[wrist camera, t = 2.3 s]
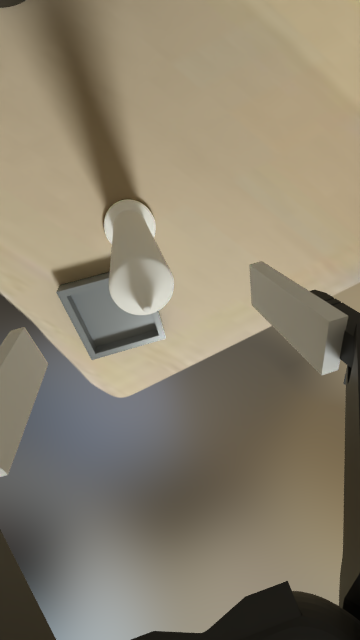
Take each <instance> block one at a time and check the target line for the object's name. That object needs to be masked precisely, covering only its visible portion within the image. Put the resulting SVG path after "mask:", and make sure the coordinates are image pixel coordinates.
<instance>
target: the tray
mask: <svg viewBox="0 0 360 640" xmlns="http://www.w3.org/2000/svg"><path fill="white" fill-rule="evenodd" d="M109 274H110V272H108V273H104V274H100V275H97V276H93V277H89V278H85V279H82V280H78V281H74V282H70V283H67V284H63V285H60V286H59V288H58V290H57V294H58V296H59V298H60V300H61V302H62V304H63V306H64V308H65V310H66V312H67V314H68V315H69V317H70V319H71V321H72V323H73V325H74V327H75V329H76V331H77V333H78V335H79V337H80V338H81V340H82V342H83V344H84V346H85V348H86V350H87V352H88V354H89V356H90V358H91V360H94V359H97V358H101V357H104V356H107V355H111V354H114V353H118V352H121V351H125V350H128V349H132V348H135V347H138V346H142V345H145V344H149V343H152V342H156V341H159V340H162V339H166V336H165V333H164V329H163V326H162V322H161V319H160V315H159V312H158V311H157V312H155V313H152V314H148V315H134V314H130V313H128V312H126V311H124V310H122V309H121V308H120V307H118V306H117V304H116V303H115V302H114V301H113V299H112V297H111V295H110V291H109Z"/></svg>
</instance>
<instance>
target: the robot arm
mask: <svg viewBox="0 0 360 640" xmlns="http://www.w3.org/2000/svg"><path fill="white" fill-rule="evenodd" d="M24 1H25V0H0V8H3V7H10V6H14V5H17V4H19V3H22V2H24ZM250 283H251V302H252V306H253V307H254V308H255V309H256V310H257V311H258V312H259V313H260V314H261V315H262V316H263V317H264V318H265V319H266V320H267V321H268V322H269V323H270V324H271V325H272V326H273V327H274V328H275V329H276V330H277V331H278V332H279V333H280V334H281V335H282V336H283V337H284V338H285V339H286V340H287V341H288V342H289V343H290V344H291V345H292V346H293V347H294V348H295V349H296V350H297V351H298V352H299V353H300V354H301V355H302V356H303V357H304V358H305V359H306V360H307V361H308V362H309V363H310V364H311V365H312V366H313V367H314V368H315V369H316V370H317V371H318V372H319V373H320V374H321V375H324V374H327V373H330V372H333V371H337V370H338V368H339V363H340V359H341V360H342V361H343V362H345V363H346V364H347V370H346V374H345V379H344V384H346V412H345V414H346V415H345V472H344V532H343V533H344V534H343V535H344V536H343V558H342V565H341V573H340V590H339V606H338V605H336V604H334V603H332V602H330V601H328V600H326V599H324V598H322V597H319V596H316V595H313V594H309V593H304V592H299V591H291V588H290V586H289V583H288V581H286V582H283V583H281V584H278V585H275V586H273V587H270V588H267V589H265V590H262V591H260V592H257V593H254V594H251V595H249V596H246V597H245V598H244V599H242V600H241V601H240V602H239V603H238V604H237V605H235V606H234V607H233V608H232V609H231V610H230V611H229V612H228V613H226V614H225V615H224V616H223V617H222V618H221V619H220V620H219V621H217V622H216V623H215V624H214V625H213V626H212V627H211V628H210V629H208V630H207V631H205V632H203V633H182V632H161V631H153V632H150V633H147V634H145V635H142V636H139V637H137V638H134V639H131V640H360V313H359V312H357V311H355V310H354V309H352V308H350V307H348V306H347V305H345V304H344V303H341V302H340V301H338V300H337V299H334V298H333V297H332V296H330V295H328V294H327V293H324V292H321V291H317V290H312V291H308V290H307V289H305V288H303V287H302V286H300V285H299V284H297V283H295V282H294V281H292V280H291V279H289V278H288V277H286V276H284V275H283V274H281V273H280V272H278V271H276V270H275V269H273V268H272V267H270V266H269V265H267V264H265V263H264V262H262V261H261V262H257V263H254V264H250ZM47 366H48V363H47V361H46V360H45V358H44V357H43V355H42V353H41V352H40V350H39V349H38V347H37V346H36V344H35V343H34V341H33V340H32V338H31V336H30V335H29V333H28V332H27V330H26V329H25V327H23V328H19V329H16V330H12V331H10V332H9V334H8V335H7V337H6V338H5V340H4V341H3V343H2V344H1V346H0V477H2V476H5V475H8V473H9V471H10V467H11V465H12V462H13V460H14V457H15V454H16V451H17V449H18V446H19V443H20V440H21V438H22V435H23V432H24V429H25V426H26V424H27V421H28V418H29V416H30V413H31V410H32V407H33V404H34V401H35V399H36V396H37V394H38V391H39V388H40V385H41V382H42V380H43V377H44V374H45V371H46V369H47ZM0 640H56V639H55V637H54V635H53V633H52V631H51V629H50V627H49V625H48V623H47V621H46V619H45V617H44V615H43V613H42V611H41V609H40V607H39V605H38V603H37V601H36V599H35V597H34V595H33V593H32V591H31V589H30V588H29V585H28V584H27V581H26V579H25V577H24V575H23V573H22V571H21V570H20V567H19V566H18V564H17V562H16V560H15V558H14V556H13V554H12V552H11V550H10V548H9V546H8V544H7V542H6V540H5V538H4V536H3V534H2V532H1V530H0Z"/></svg>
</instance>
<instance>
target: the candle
mask: <svg viewBox="0 0 360 640" xmlns="http://www.w3.org/2000/svg"><path fill="white" fill-rule="evenodd" d="M104 231H105V234H106V237H107V239H108V240H109V242H110V243H111V244H112V250H111V262H110V274H109V291H110V295H111V297H112V299H113V301H114V302H115V303H116V304H117V306H118V307H120V308H121V309H122V310H124V311H126V312H128V313H130V314H134V315H148V314H152V313H155V312H157V311H159V310H160V309H162V308H163V307H164V306H165V305H166V304H167V303H168V302H169V300H170V298H171V296H172V294H173V290H174V279H173V275H172V273H171V271H170V269H169V267H168V265H167V263H166V261H165V259H164V257H163V255H162V253H161V251H160V249H159V247H158V245H157V243H156V241H155V239H154V236H155V231H156V224H155V220H154V217H153V215H152V213H151V212H150V210H149V209H148V208H147V207H146V206H145V205H144V204H142V203H140V202H138V201H136V200H131V199H125V200H121V201H118V202H116V203H115V204H113V205H112V206H111V207H110V208H109V209H108V211H107V213H106V215H105V219H104Z"/></svg>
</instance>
